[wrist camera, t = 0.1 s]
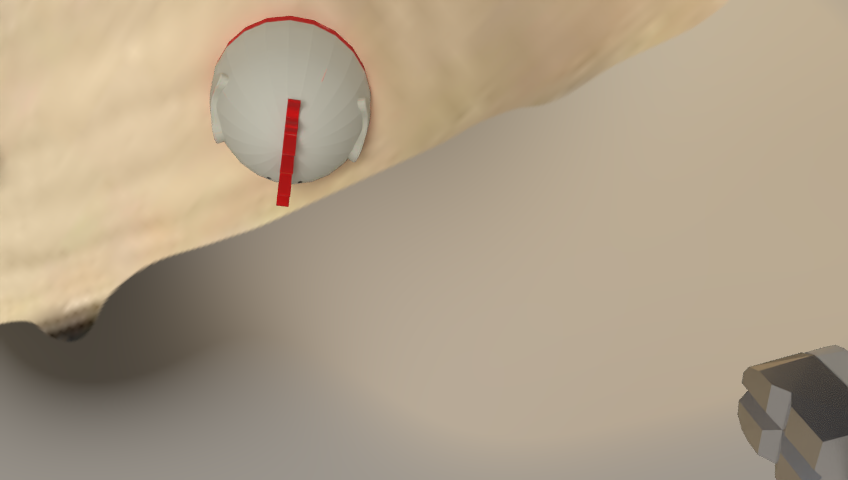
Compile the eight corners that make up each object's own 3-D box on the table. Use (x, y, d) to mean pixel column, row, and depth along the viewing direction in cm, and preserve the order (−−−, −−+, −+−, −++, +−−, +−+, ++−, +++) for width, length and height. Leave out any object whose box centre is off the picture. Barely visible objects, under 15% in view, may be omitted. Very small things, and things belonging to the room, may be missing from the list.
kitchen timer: (210, 153, 56) (180, 236, 44) (217, 1, 49) (184, 48, 37) (356, 172, 60) (367, 255, 47) (381, 33, 53) (402, 86, 40)
